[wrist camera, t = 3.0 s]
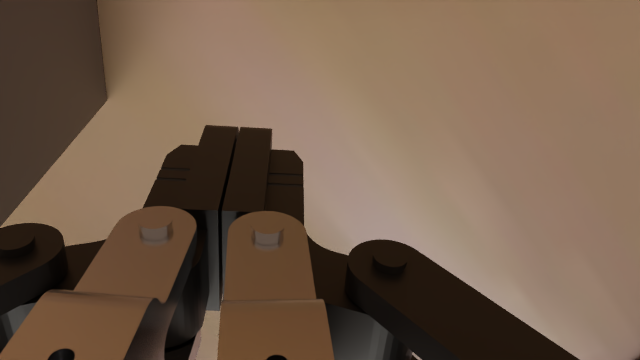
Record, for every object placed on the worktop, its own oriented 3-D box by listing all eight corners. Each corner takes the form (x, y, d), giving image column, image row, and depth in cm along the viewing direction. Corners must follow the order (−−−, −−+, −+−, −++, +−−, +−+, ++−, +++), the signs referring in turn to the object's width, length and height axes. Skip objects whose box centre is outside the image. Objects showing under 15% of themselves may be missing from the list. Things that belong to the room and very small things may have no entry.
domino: (92, -42, 18) (-105, 44, 9) (106, 100, 21) (-38, 271, 12) (42, -47, 18) (-202, 36, 9) (63, 97, 20) (-115, 267, 12)
